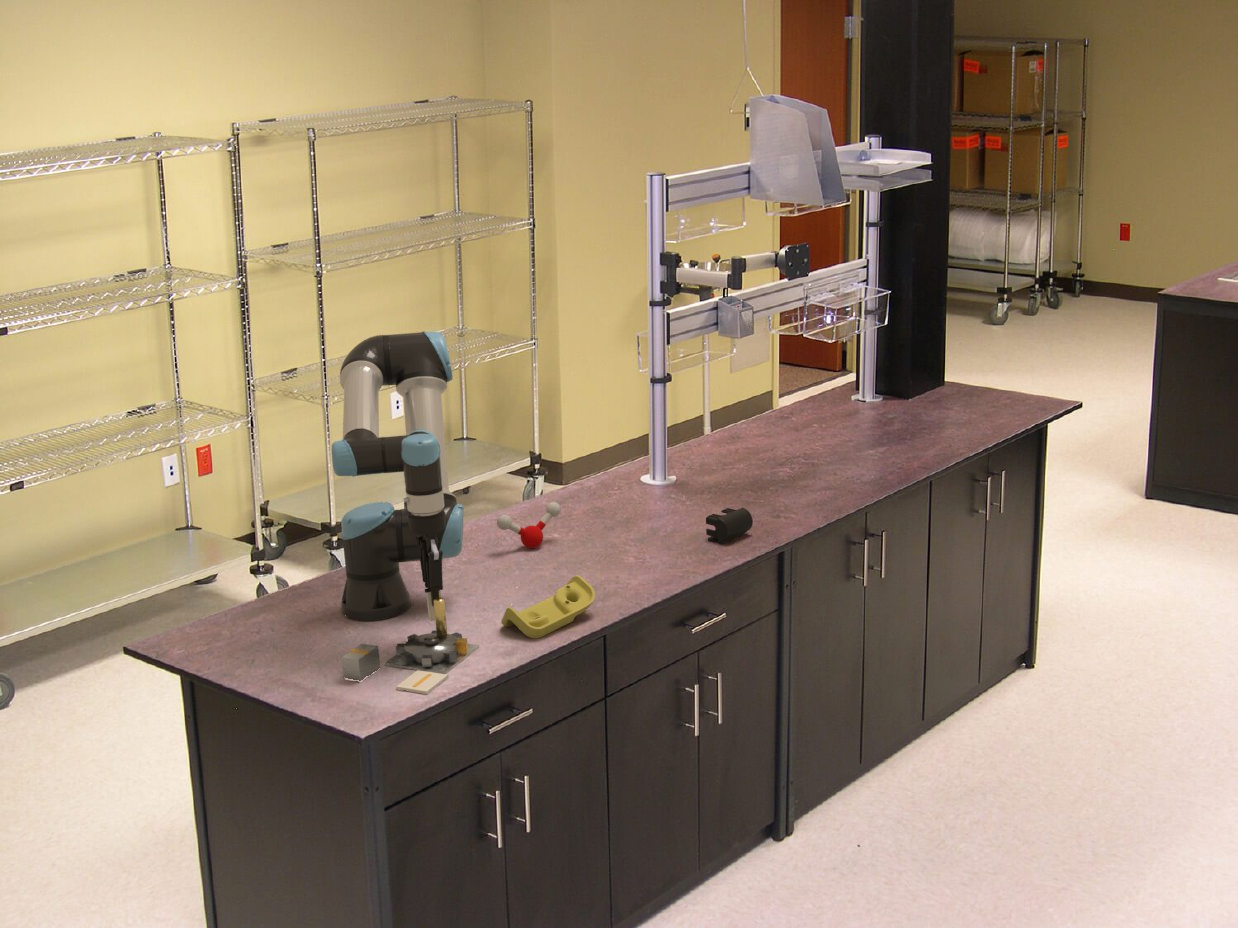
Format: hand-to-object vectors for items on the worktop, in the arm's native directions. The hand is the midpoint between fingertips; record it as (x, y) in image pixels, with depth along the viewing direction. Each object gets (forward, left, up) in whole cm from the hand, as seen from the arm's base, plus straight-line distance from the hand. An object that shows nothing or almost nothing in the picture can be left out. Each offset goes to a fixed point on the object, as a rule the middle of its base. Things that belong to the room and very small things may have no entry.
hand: (435, 618), depth 307 cm
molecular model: (-8, +58, -5) cm, 59 cm away
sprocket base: (+3, -7, -5) cm, 9 cm away
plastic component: (+18, +17, -6) cm, 25 cm away
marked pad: (+8, -19, -5) cm, 21 cm away
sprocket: (+3, -7, -5) cm, 9 cm away
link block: (-6, -19, -5) cm, 21 cm away
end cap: (+36, +78, -5) cm, 86 cm away
